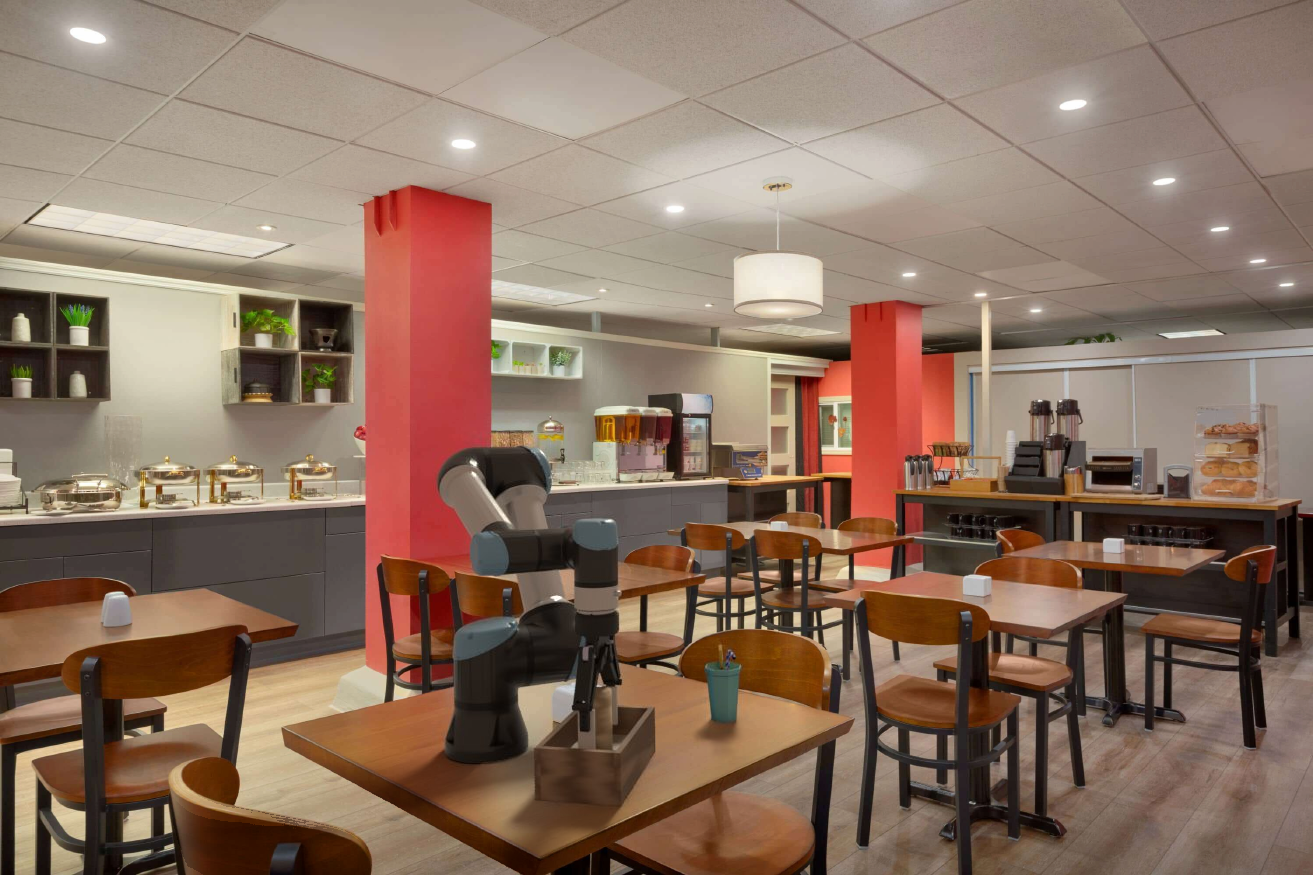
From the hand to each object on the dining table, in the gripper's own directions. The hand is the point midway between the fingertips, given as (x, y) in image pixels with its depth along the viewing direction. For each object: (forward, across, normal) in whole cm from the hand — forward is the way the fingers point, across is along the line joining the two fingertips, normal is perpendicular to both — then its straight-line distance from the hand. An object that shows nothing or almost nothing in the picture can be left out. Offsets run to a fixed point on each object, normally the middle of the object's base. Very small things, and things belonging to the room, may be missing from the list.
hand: (598, 736), depth 140 cm
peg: (+6, 0, 0) cm, 6 cm away
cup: (+6, +32, -17) cm, 37 cm away
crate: (+6, 0, 0) cm, 6 cm away
